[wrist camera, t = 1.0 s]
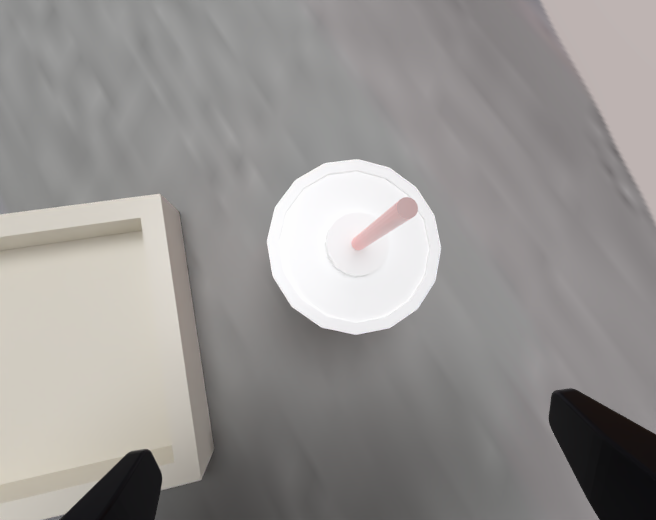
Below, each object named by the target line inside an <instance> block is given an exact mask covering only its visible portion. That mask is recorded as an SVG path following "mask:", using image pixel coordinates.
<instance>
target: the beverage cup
mask: <svg viewBox="0 0 656 520" xmlns="http://www.w3.org/2000/svg"><path fill="white" fill-rule="evenodd" d="M267 245H268V251H269V257H270V263H271V269H272V275H273V278H274V280H275V281H276V283H277V284H278V286H279V287H280V289H281V291H282V292H283V294H284V295H285V297H286V299H287V300H288V302H289V303H290V305H291V307H293V308H294V309H296V310H297V311H298V312H300V313H301V314H303V315H304V316H306V317H307V318H308V319H310V320H311V321H313V322H314V323H316V324H317V325H318V326H320V327H322V328H326V329H331V330H336V331H340V332H345V333H350V334H354V335H358V334H363V333H368V332H373V331H378V330H383V329H388V328H391V327H392V326H394V325H395V324H396V323H398V322H399V321H401V320H402V319H404V318H405V317H407V316H408V315H409V314H411V313H412V312H414V311H415V310H417V309H418V307H419V306H420V304H421V303H422V301H423V300H424V298H425V296H426V295H427V293H428V292H429V290H430V288H431V287H432V285H433V284H434V282H435V280H436V275H437V269H438V263H439V257H440V252H441V245H440V240H439V235H438V230H437V226H436V221H435V216H434V214H433V212H432V211H431V209H430V208H429V206H428V205H427V203H426V202H425V200H424V198H423V197H422V195H421V194H420V192H419V191H418V189H417V188H416V187H415V186H414V185H412V184H411V183H410V182H408V181H407V180H406V179H404V178H403V177H402V176H400V175H399V174H397V173H396V172H395V171H393V170H392V169H391V168H389V167H385V166H381V165H378V164H374V163H370V162H366V161H363V160H359V159H355V160H347V161H339V162H331V163H324V164H322V165H321V166H319V167H317V168H315V169H314V170H312V171H310V172H308V173H307V174H305V175H303V176H301V177H300V178H298V179H296V180H295V181H294V183H293V184H292V185H291V187H290V188H289V189H288V191H287V192H286V193H285V195H284V196H283V197H282V199H281V200H280V201H279V203H278V204H277V205H276V207H275V210H274V214H273V218H272V222H271V226H270V230H269V234H268V238H267Z"/></svg>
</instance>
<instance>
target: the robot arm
mask: <svg viewBox="0 0 656 520" xmlns="http://www.w3.org/2000/svg"><path fill="white" fill-rule="evenodd" d="M549 423H550V426H551V429H552V431H553V433H554V435H555V437H556V439H557V441H558V443H559V445H560V447H561V449H562V451H563V453H564V455H565V457H566V459H567V461H568V462H569V464H570V466H571V468H572V470H573V472H574V474H575V476H576V478H577V480H578V482H579V484H580V486H581V488H582V490H583V492H584V494H585V495H586V497H587V499H588V501H589V503H590V504H591V506H592V508H593V509H594V511H595V513H596V514H597V516H598V518H599V519H600V520H656V434H654V433H652V432H651V431H649V430H647V429H645V428H643V427H642V426H640V425H638V424H636V423H634V422H633V421H631V420H629V419H627V418H626V417H624V416H622V415H620V414H618V413H617V412H615V411H613V410H611V409H610V408H608V407H606V406H604V405H602V404H601V403H599V402H597V401H595V400H594V399H592V398H590V397H588V396H586V395H585V394H583V393H581V392H579V391H577V390H575V389H563V390H556V391H554V392H553V393H552V396H551V404H550V411H549ZM161 486H162V473H161V470H160V468H159V466H158V464H157V462H156V460H155V458H154V456H153V454H152V452H151V451H150V450H148V449H141V450H134V451H130V452H129V453H127V454H126V455H125V456H124V457H123V458H122V459H121V460H120V461H119V462H118V463H117V464H116V465H115V466H114V467H113V468H112V469H111V470H110V471H109V472H108V473H107V474H106V475H104V476H103V477H102V478H101V479H100V480H99V481H98V482H97V483H96V484H95V485H94V486H93V487H92V488H91V489H90V490H89V491H88V492H87V493H86V494H85V495H84V496H83V497H82V498H81V499H80V500H79V501H78V502H77V503H76V504H75V505H74V506H73V507H72V508H71V509H70V510H69V511H68V512H67V513H66V514H65V515H64V516H63V517H62V518H61V519H60V520H154V519H155V515H156V510H157V505H158V500H159V495H160V491H161Z"/></svg>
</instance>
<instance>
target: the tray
mask: <svg viewBox="0 0 656 520" xmlns="http://www.w3.org/2000/svg"><path fill="white" fill-rule="evenodd" d="M141 449H148V450H150V451H151V452H152V454H153V456H154V458H155V460H156V462H157V464H158V466H159V468H160V470H161V473H162V486H161V490H164V489H168V488H172V487H176V486H180V485H184V484H188V483H192V482H196V481H200V480H202V477H203V475H204V473H205V470H206V468H207V465H208V463H209V461H210V458H211V456H212V454H213V451H214V444H213V437H212V430H211V423H210V416H209V410H208V403H207V396H206V389H205V383H204V376H203V369H202V362H201V355H200V349H199V342H198V335H197V328H196V322H195V315H194V308H193V301H192V295H191V288H190V281H189V274H188V267H187V261H186V254H185V247H184V240H183V234H182V227H181V220H180V213H179V211H178V210H177V209H176V208H175V207H174V206H173V205H172V204H170V203H169V202H168V201H167V200H166V199H165V198H164V197H163V196H162V195H161V194H155V195H147V196H139V197H132V198H124V199H116V200H109V201H101V202H93V203H86V204H78V205H70V206H62V207H55V208H47V209H39V210H32V211H24V212H16V213H9V214H1V215H0V520H43V519H47V518H51V517H55V516H59V515H63V514H66V513H67V512H68V511H69V510H70V509H71V508H72V507H73V506H74V505H75V504H76V503H77V502H78V501H79V500H80V499H81V498H82V497H83V496H84V495H85V494H86V493H87V492H88V491H89V490H90V489H91V488H92V487H93V486H94V485H95V484H96V483H97V482H98V481H99V480H100V479H101V478H102V477H103V476H104V475H106V474H107V473H108V472H109V471H110V470H111V469H112V468H113V467H114V466H115V465H116V464H117V463H118V462H119V461H120V460H121V459H122V458H123V457H124V456H125V455H126V454H127V453H129V452H130V451H134V450H141Z"/></svg>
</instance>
